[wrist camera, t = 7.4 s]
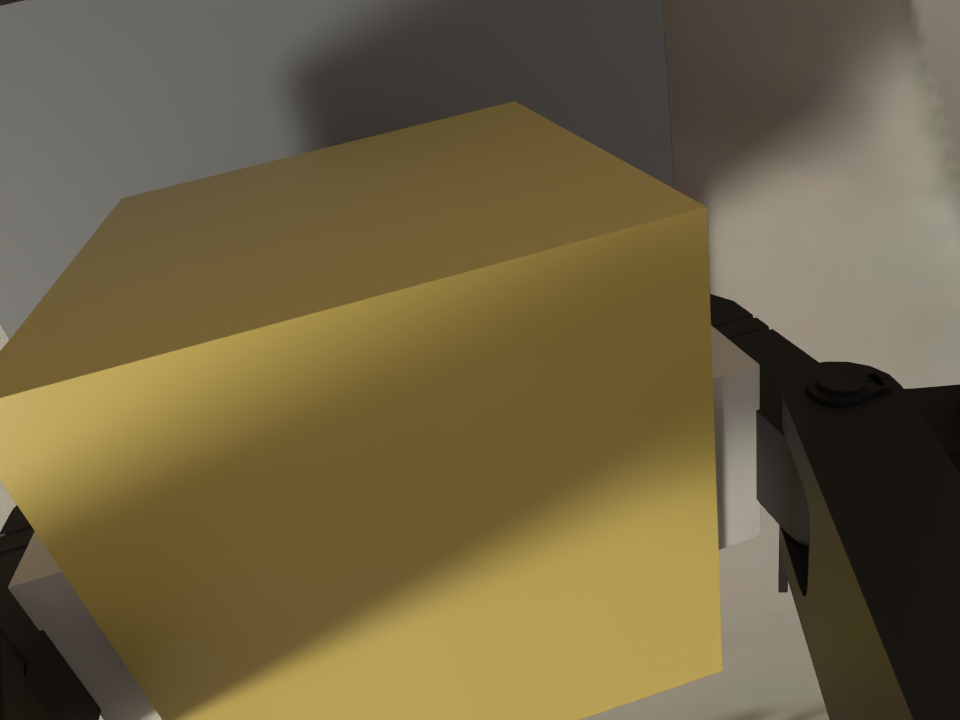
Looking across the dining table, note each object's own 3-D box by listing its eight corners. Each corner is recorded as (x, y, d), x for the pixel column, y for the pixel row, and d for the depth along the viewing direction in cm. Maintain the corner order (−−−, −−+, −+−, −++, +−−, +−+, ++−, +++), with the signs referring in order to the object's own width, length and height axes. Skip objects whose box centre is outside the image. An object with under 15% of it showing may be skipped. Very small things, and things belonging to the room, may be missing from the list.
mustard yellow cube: (565, 416, 16) (722, 670, 10) (261, 506, 16) (240, 836, 10) (515, 101, 13) (707, 206, 7) (121, 197, 12) (-48, 410, 6)
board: (667, 484, 25) (770, 620, 20) (212, 625, 24) (186, 817, 18) (616, -122, 17) (774, -180, 11) (-111, 35, 15) (-349, 59, 9)
